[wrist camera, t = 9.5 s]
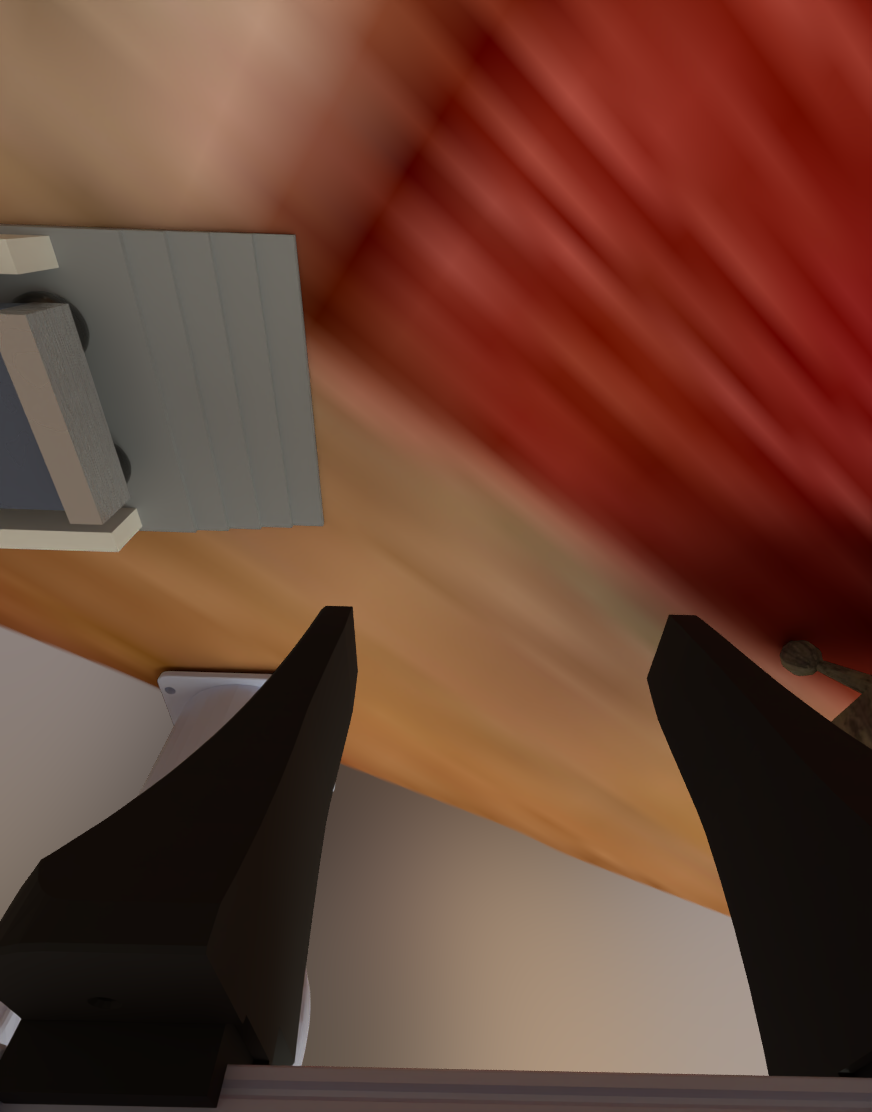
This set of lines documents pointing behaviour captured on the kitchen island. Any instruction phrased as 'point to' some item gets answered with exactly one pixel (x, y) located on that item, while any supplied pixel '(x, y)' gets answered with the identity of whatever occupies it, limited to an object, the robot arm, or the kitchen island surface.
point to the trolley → (54, 416)
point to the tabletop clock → (868, 713)
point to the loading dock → (181, 376)
